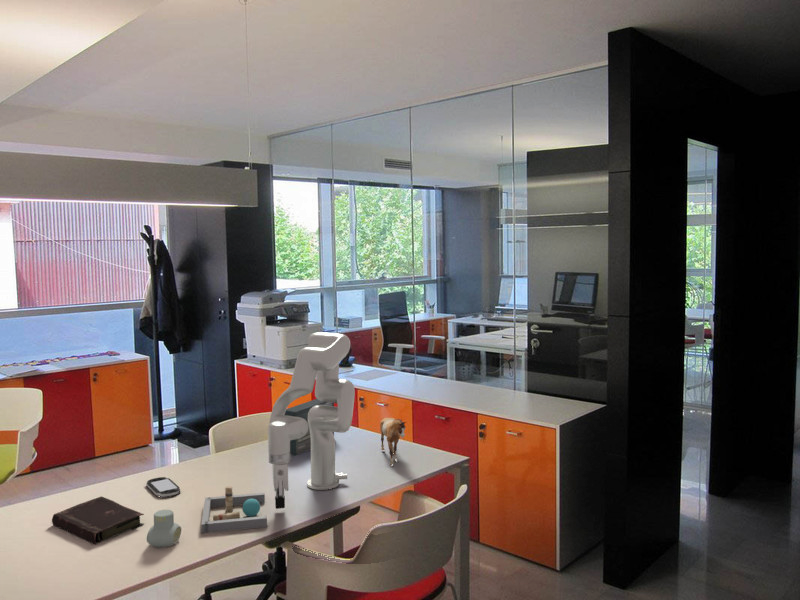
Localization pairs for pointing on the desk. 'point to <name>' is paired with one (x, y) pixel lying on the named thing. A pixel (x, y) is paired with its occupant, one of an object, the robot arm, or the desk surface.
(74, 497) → the desk surface
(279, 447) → the robot arm
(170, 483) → the gaming console
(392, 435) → the horse figurine
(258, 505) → the ball
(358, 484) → the desk surface
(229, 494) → the back pin
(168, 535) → the air freshener
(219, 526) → the pin pen
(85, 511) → the diary
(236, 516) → the front pin
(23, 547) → the desk surface
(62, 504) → the desk surface
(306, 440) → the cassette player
